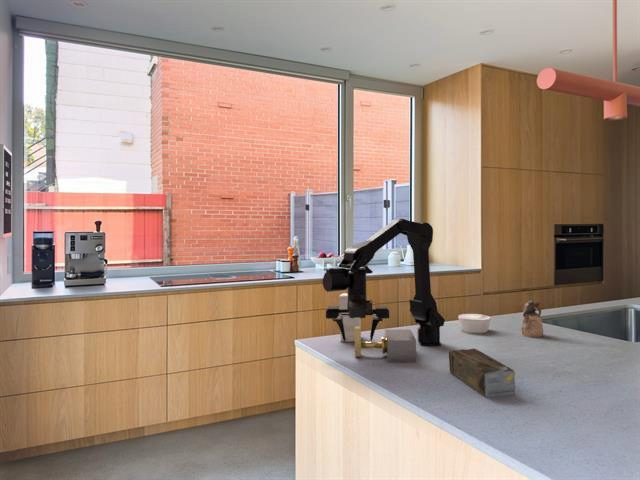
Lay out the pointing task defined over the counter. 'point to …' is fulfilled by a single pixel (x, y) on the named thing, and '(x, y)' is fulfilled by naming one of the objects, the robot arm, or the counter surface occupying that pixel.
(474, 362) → the beverage carton
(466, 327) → the ramekin
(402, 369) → the counter surface
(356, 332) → the brass door handle
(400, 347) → the housing
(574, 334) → the counter surface
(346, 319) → the skincare box
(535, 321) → the figurine
